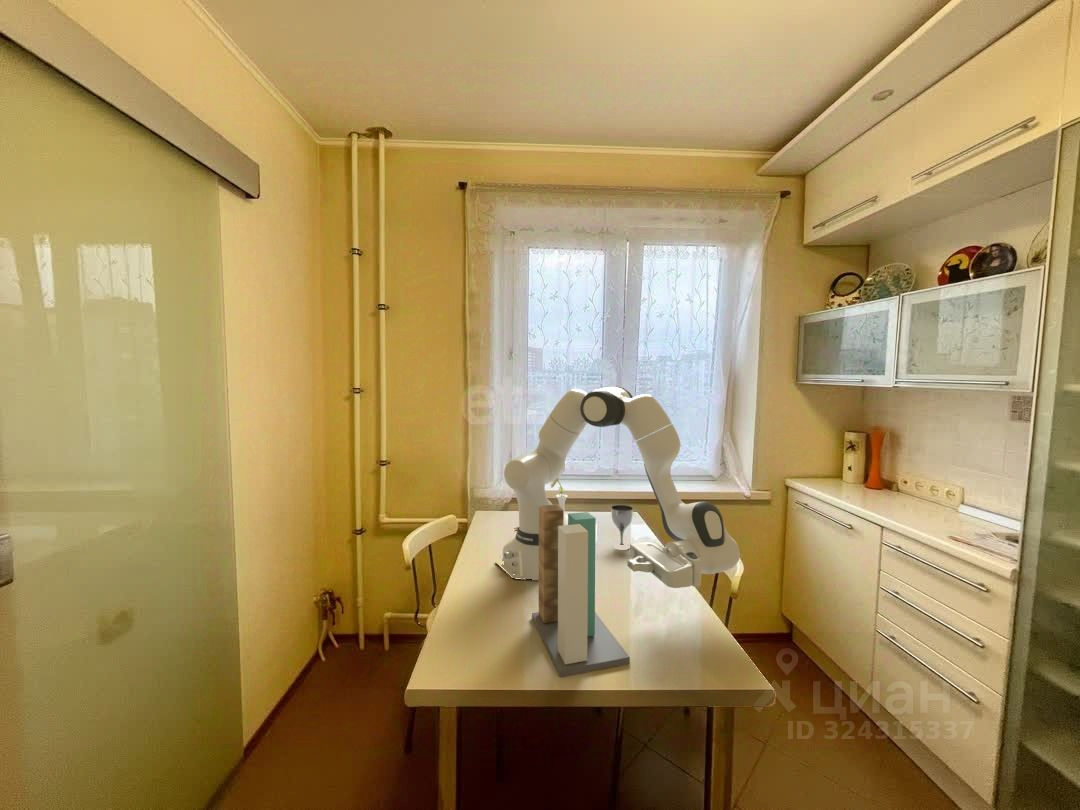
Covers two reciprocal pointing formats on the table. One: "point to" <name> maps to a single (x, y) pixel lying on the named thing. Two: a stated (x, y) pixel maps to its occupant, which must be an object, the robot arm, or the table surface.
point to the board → (599, 648)
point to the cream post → (572, 593)
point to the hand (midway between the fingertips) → (629, 565)
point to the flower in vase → (561, 499)
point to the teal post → (589, 524)
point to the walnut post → (549, 561)
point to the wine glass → (621, 517)
